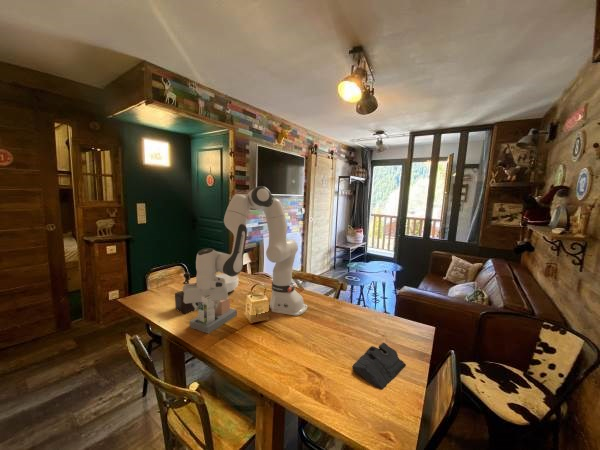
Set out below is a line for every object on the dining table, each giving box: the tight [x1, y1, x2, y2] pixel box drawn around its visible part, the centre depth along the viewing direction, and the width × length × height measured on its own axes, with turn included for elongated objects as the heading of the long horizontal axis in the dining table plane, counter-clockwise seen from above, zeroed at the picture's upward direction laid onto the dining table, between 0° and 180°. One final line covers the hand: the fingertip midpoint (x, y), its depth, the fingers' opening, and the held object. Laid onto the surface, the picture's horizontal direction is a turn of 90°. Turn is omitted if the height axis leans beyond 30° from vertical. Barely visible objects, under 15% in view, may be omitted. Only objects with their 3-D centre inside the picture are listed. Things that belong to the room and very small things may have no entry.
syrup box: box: [197, 295, 215, 326], centre depth 120 cm, size 6×6×14 cm
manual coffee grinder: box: [174, 272, 198, 315], centre depth 138 cm, size 16×11×18 cm
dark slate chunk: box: [351, 342, 407, 390], centre depth 96 cm, size 15×22×5 cm
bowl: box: [216, 273, 239, 293], centre depth 163 cm, size 20×20×8 cm
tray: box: [189, 296, 238, 334], centre depth 124 cm, size 20×12×10 cm, turn 154°
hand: (206, 309), depth 120 cm, fingers closed on syrup box, 7 cm apart
